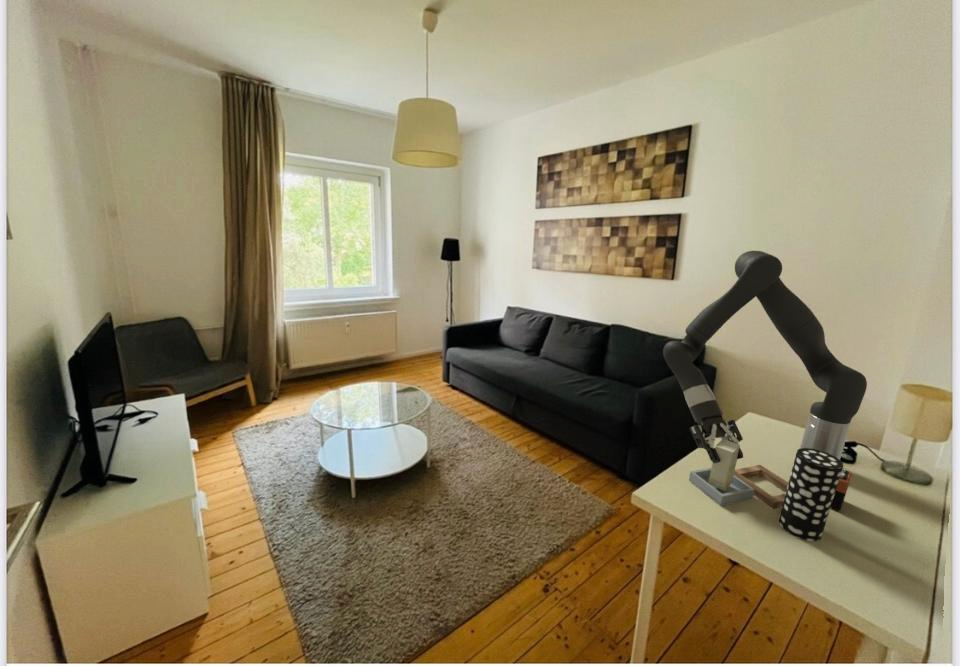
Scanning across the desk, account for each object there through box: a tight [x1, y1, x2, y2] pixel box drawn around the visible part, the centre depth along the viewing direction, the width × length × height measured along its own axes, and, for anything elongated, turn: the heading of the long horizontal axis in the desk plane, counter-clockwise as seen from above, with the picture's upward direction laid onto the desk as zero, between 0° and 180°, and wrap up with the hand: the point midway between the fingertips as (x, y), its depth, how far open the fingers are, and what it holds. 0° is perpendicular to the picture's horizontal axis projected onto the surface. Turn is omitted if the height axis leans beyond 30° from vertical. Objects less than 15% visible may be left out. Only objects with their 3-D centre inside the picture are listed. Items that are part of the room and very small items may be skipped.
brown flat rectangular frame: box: [734, 464, 789, 510], centre depth 110 cm, size 12×14×2 cm
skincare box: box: [709, 439, 741, 491], centre depth 107 cm, size 6×4×12 cm
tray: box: [688, 467, 755, 507], centre depth 109 cm, size 11×11×3 cm
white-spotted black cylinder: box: [778, 447, 844, 542], centre depth 93 cm, size 8×8×20 cm
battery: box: [830, 467, 853, 512], centre depth 103 cm, size 4×7×10 cm, turn 131°
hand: (728, 460), depth 106 cm, fingers closed on skincare box, 7 cm apart
